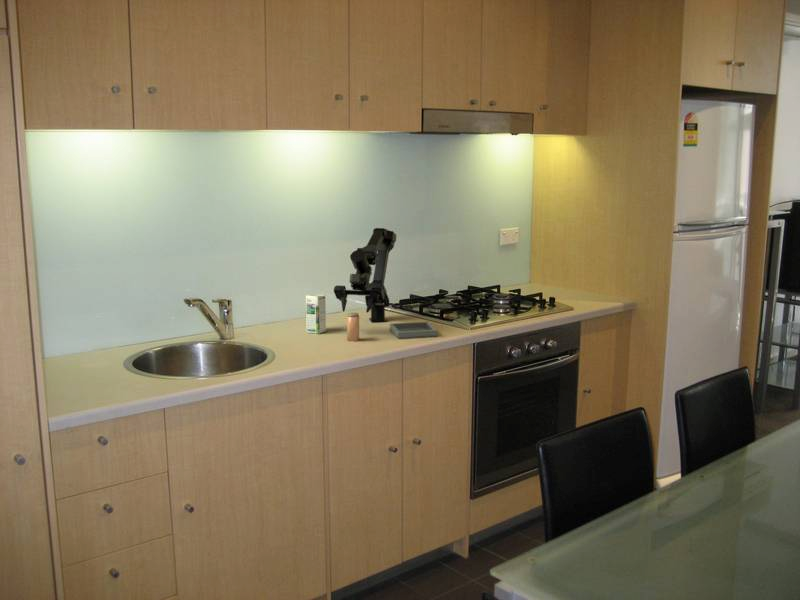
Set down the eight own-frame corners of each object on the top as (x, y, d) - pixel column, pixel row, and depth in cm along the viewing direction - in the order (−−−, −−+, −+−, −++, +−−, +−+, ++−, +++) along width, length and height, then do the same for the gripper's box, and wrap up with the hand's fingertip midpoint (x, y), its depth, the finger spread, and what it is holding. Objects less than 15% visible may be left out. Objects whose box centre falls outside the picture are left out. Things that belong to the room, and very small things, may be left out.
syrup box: (305, 332, 306) (304, 296, 303) (314, 329, 311) (313, 293, 309) (318, 334, 304) (317, 297, 301) (326, 331, 309) (325, 294, 306)
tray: (390, 329, 310) (390, 323, 310) (427, 327, 313) (427, 321, 313) (398, 339, 296) (398, 332, 295) (437, 336, 299) (437, 330, 298)
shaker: (346, 338, 296) (346, 312, 294) (358, 338, 297) (358, 312, 295) (348, 341, 292) (347, 315, 290) (360, 341, 293) (360, 314, 291)
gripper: (334, 264, 300) (326, 298, 291) (382, 265, 296) (375, 300, 287) (340, 281, 309) (333, 315, 300) (387, 283, 305) (380, 317, 296)
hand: (355, 311), depth 296 cm, fingers open, 9 cm apart
